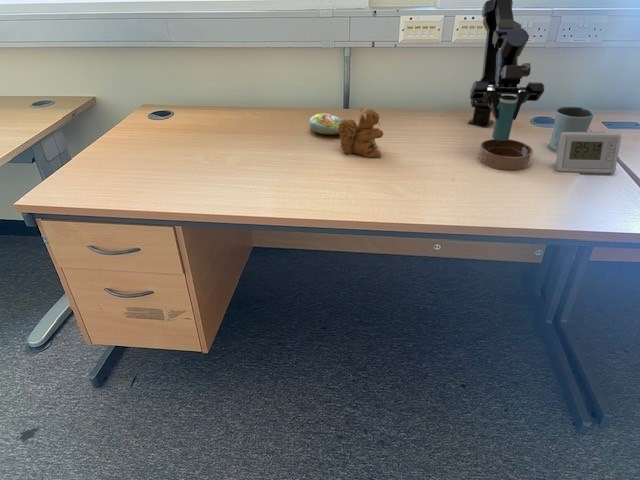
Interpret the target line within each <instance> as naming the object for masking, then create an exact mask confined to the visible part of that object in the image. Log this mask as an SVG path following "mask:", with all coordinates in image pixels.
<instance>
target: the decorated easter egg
mask: <svg viewBox="0 0 640 480" xmlns="http://www.w3.org/2000/svg"><path fill="white" fill-rule="evenodd" d="M342 120H343V119H341V118H340V117H338V116H336V115H333V114H329V113H317V114H315V115H313V116H312V117H311V118H310V119H309V122H308V124H309V128H310V129H311V130H312V131H313V132H315V133H317V134H320V135H327V136H328V135H339V133H338V130H337V129H338V128H339V126H338V124H339V123H341V121H342Z"/></svg>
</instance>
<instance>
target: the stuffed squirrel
mask: <svg viewBox="0 0 640 480" xmlns="http://www.w3.org/2000/svg"><path fill="white" fill-rule="evenodd" d="M341 120H342V121H341V123H339V124H338V126H339V128H338V129H337V130H338V133H339V134H338V135H339V136H340V137H339V139H340V148H341V149H342V151H343V152H344V153H346V154H348V155H351V154H355V153H356V154H357V155H360V156H361V157H362V156H363V157H367V158H379V157H381V156H382V152H381V150H379V149H376V146H377V143H376V139H381V138H382V137H384V131H382V130H381V129H380V128H378V127H374V126H376V125H377V124H378V126H381V123H380V114H379V112H377V111H375V110H373V109H370V108H361V109H360V114H359V120H358V121H359V122H358V124H357V123H356V122H355V119H341Z"/></svg>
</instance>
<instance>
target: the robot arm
mask: <svg viewBox="0 0 640 480" xmlns="http://www.w3.org/2000/svg"><path fill="white" fill-rule="evenodd" d="M513 2H514V1H513V0H487V1H485V2H484V4H483V6H482V9H481V17H482V25H483V26H484V29H485V31H486V35H485V47H484V55H483V64H482V73H481V78H480V79H479V80H475V81H474V82H473V83H472V86H471V88H470V92H469V99H470V106H471V108H473V115H472V119H471V120H469V121H468V124H470V125H474V126H481V127H488V126H489V125H490V124H492V123H493V120H492V119H491V114H492V116H493V118H494V120H497V118H498V105H499V98H500V96H503V95H516V97H517V98H518V102H517V105H516V109H515V114H514V118H513V121H516V119H517V117H518V114H519V112H520V109H521V107H522V104H525V103H526V102H536V101H539V100H540V98H541V97H542V95H543V94H544V92H545V85H544V83H543V82H540V81H539V82H537V81H533V82H532V81H531V82H530V81H528V83H527V84H526V86H525V87H524V86H518V85H520V83H521V80H522V79H523V77H524V78H525V77H526V78H528V77H529V76H530V75H531V69H532V67H531V63H530V62H529V63H528V62H527V63H526V62H524V63H522V64H521V65H519V64H518V63H519V57H520V56H521V55H522V54H523V51H524V49H525V47H526V45H527V43H528V42H529V38H530V37H529V33H528V32H527V30H526V29H524V28H522V24H520V23H519V22H517V21H515V18H514V13H513V5H514V4H513Z"/></svg>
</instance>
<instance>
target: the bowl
mask: <svg viewBox="0 0 640 480" xmlns="http://www.w3.org/2000/svg"><path fill="white" fill-rule="evenodd" d="M533 151H534V149H533V148H532V147H531V146H530V145H528V144H527V143H526V142H523V141H519V140H515V139H511V138H509V139H508V140H506V141H499V140H495V139H493V138H490V139H486V140H484V141H483V142H481V144H480V148H479V153H478V161H479V162H480V163H481V164H483V165H484V166H486V167H489V168H492V169H495V170H500V171H512V172H513V171H522V170H524V169H527V168H528V167H529V166H530V164H531V161H532V157H533V153H534V152H533Z"/></svg>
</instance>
